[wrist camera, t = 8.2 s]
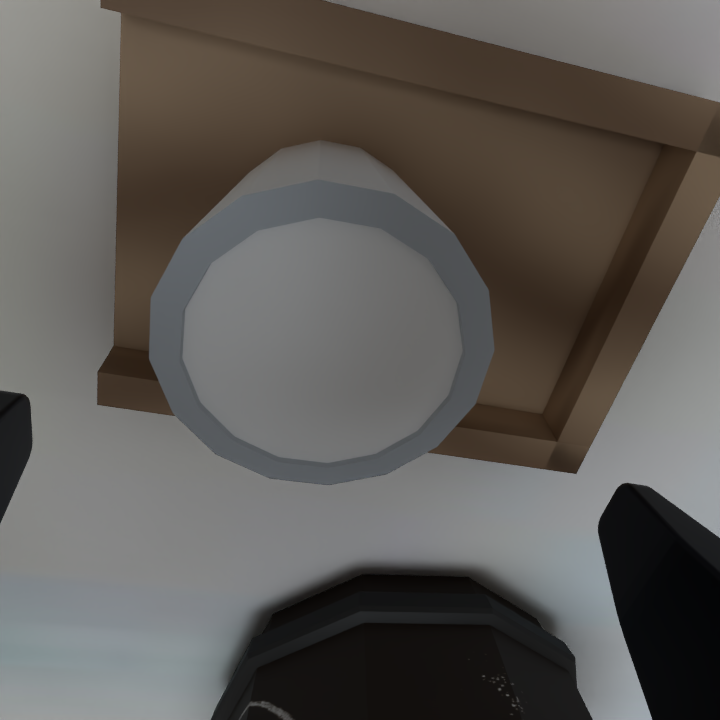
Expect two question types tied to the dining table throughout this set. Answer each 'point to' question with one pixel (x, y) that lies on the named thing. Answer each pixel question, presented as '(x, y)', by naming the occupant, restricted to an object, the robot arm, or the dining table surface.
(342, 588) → the black ribbed pot
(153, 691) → the dining table surface
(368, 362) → the shot glass
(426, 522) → the dining table surface
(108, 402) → the tray
